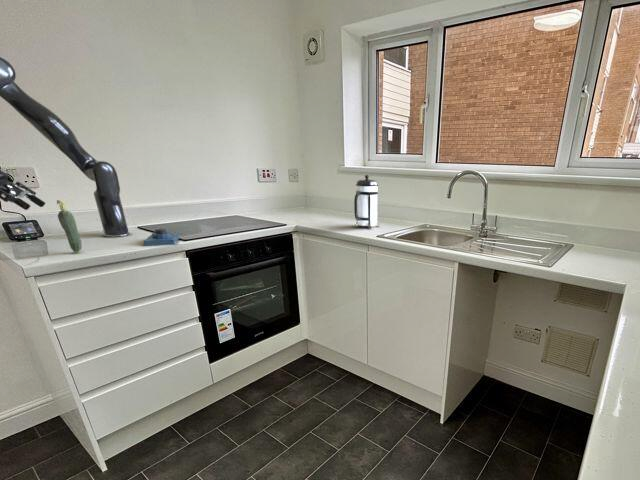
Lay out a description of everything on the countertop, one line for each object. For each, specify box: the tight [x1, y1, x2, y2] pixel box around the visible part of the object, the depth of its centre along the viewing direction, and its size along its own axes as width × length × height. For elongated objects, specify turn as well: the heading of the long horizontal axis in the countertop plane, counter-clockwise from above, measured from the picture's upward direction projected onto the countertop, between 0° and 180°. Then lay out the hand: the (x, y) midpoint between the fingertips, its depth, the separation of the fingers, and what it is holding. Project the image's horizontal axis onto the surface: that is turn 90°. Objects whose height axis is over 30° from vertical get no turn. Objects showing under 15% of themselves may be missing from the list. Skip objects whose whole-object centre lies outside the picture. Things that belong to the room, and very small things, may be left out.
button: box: [154, 228, 167, 234], centre depth 156 cm, size 4×4×2 cm
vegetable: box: [56, 199, 83, 254], centre depth 132 cm, size 4×4×20 cm
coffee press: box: [353, 174, 380, 230], centre depth 205 cm, size 17×16×30 cm
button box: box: [143, 231, 180, 247], centre depth 157 cm, size 14×11×4 cm
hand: (36, 206), depth 127 cm, fingers open, 8 cm apart
